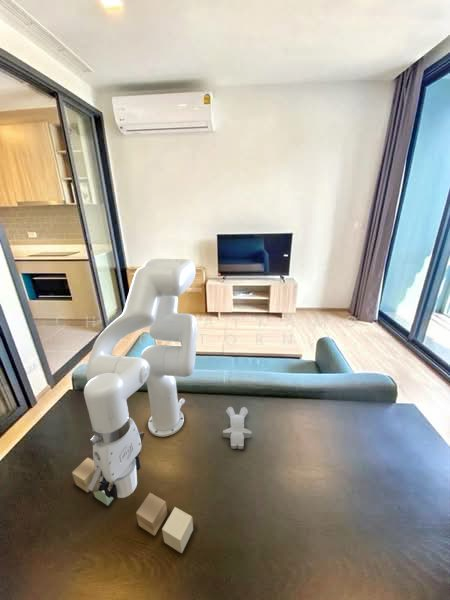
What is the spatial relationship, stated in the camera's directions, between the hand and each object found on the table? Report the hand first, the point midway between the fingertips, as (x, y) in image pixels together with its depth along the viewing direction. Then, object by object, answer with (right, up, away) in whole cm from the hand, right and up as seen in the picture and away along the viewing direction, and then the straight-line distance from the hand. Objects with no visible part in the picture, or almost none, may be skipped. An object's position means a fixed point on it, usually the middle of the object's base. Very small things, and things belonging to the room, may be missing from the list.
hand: (124, 480), depth 62 cm
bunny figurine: (+29, -1, +25) cm, 39 cm away
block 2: (-7, -8, +7) cm, 13 cm away
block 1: (-14, -7, +10) cm, 18 cm away
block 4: (+14, -11, -3) cm, 18 cm away
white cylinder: (0, -2, +1) cm, 2 cm away
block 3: (+7, -10, +1) cm, 13 cm away
